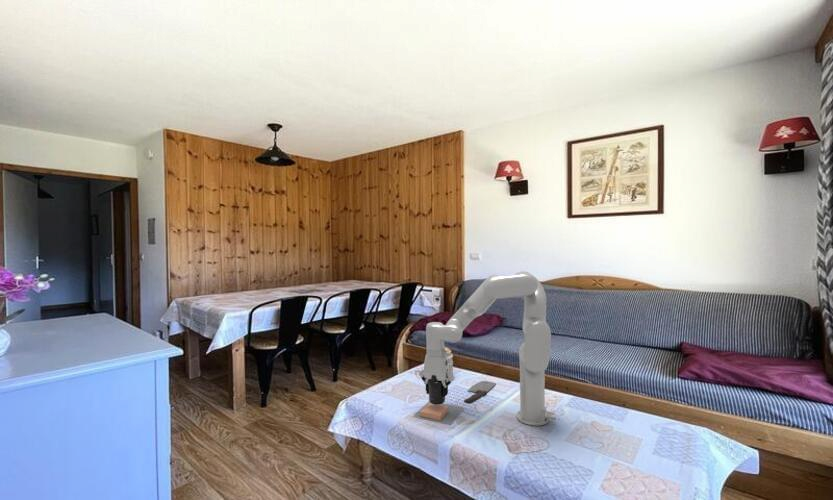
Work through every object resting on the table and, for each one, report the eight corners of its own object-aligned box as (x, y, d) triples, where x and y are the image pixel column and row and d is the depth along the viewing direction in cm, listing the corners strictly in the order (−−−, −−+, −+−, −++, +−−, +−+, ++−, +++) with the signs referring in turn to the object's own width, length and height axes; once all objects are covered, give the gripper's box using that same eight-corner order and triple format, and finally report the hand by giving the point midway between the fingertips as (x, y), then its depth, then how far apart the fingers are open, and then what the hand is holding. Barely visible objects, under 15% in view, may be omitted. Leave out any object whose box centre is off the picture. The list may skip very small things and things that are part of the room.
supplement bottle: (435, 396, 164) (434, 369, 164) (448, 400, 160) (447, 372, 160) (425, 402, 159) (424, 374, 159) (438, 406, 155) (437, 377, 154)
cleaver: (474, 407, 166) (474, 402, 166) (454, 402, 172) (454, 397, 171) (497, 385, 192) (497, 380, 192) (479, 381, 197) (479, 377, 197)
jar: (453, 373, 207) (453, 341, 206) (452, 382, 194) (452, 348, 193) (430, 372, 209) (429, 341, 208) (427, 381, 196) (427, 347, 195)
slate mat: (465, 409, 164) (465, 407, 164) (450, 426, 149) (450, 425, 149) (429, 401, 172) (429, 400, 172) (412, 418, 157) (412, 416, 157)
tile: (448, 406, 160) (440, 415, 152) (448, 411, 160) (440, 421, 152) (429, 402, 164) (420, 411, 156) (429, 407, 164) (420, 416, 156)
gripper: (458, 352, 158) (459, 394, 159) (421, 347, 166) (422, 387, 167) (451, 357, 152) (452, 401, 152) (413, 352, 160) (414, 394, 160)
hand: (436, 393), depth 159 cm, fingers closed on supplement bottle, 6 cm apart
